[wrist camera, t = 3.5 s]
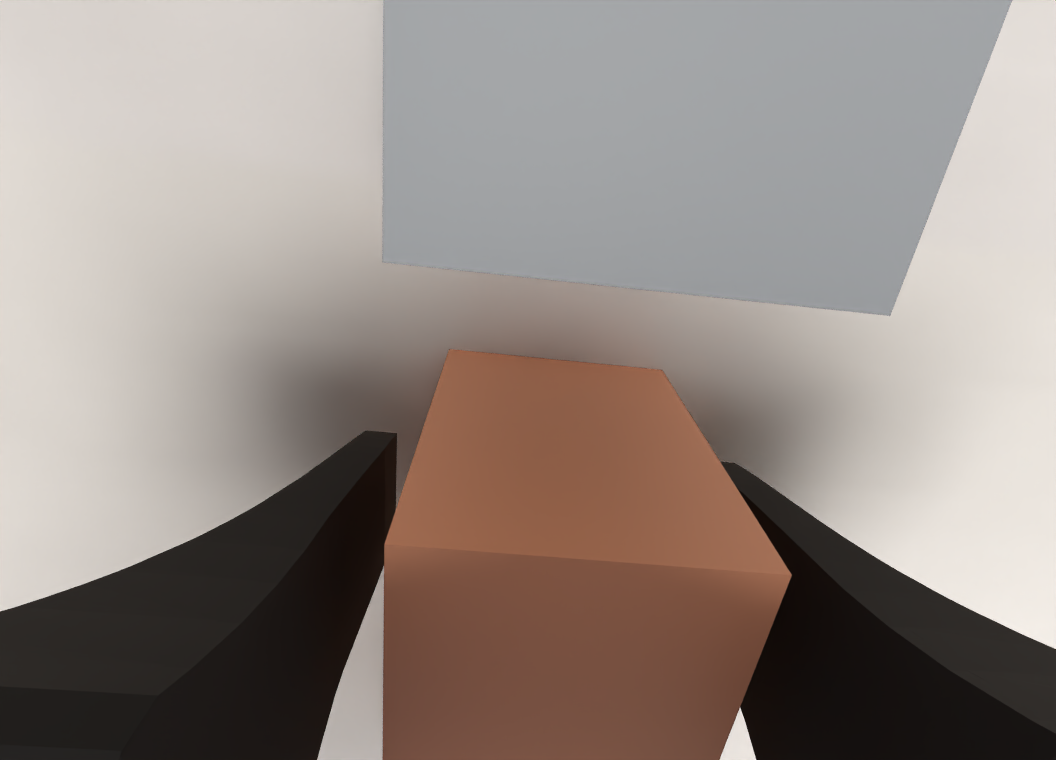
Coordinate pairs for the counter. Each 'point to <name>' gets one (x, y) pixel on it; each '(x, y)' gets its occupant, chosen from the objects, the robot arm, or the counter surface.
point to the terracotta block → (568, 572)
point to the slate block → (677, 140)
